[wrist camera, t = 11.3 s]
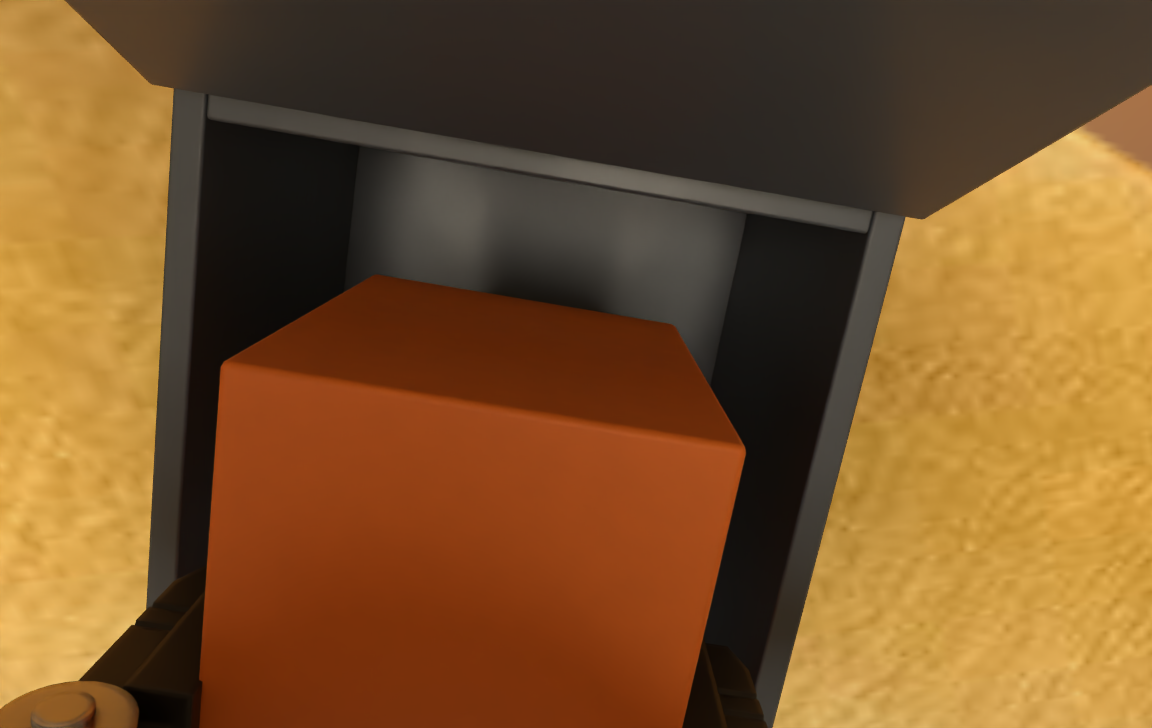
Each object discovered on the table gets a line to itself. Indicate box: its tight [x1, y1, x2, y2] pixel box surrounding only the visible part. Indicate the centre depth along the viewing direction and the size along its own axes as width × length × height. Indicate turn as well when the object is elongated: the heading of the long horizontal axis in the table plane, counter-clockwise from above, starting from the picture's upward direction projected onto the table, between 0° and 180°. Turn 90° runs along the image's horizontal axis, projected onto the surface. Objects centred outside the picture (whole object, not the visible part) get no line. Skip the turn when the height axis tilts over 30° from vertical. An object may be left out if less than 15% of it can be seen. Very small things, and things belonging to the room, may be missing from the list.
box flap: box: [65, 0, 1152, 219], centre depth 8 cm, size 7×11×1 cm
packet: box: [199, 275, 746, 728], centre depth 12 cm, size 9×5×6 cm, turn 170°
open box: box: [146, 88, 905, 728], centre depth 19 cm, size 14×11×10 cm
